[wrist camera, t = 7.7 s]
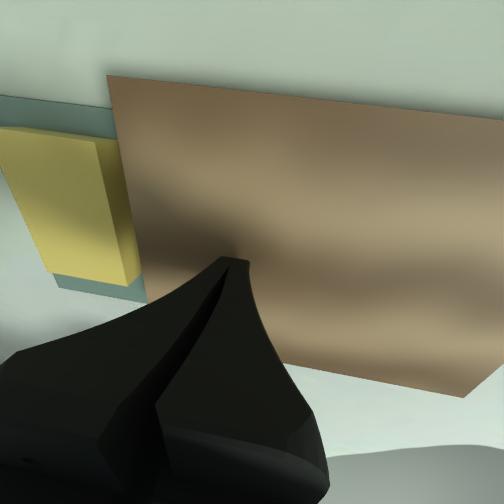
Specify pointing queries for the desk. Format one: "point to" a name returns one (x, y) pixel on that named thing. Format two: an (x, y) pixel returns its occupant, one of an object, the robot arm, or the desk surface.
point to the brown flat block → (328, 223)
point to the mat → (81, 123)
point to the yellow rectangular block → (73, 202)
